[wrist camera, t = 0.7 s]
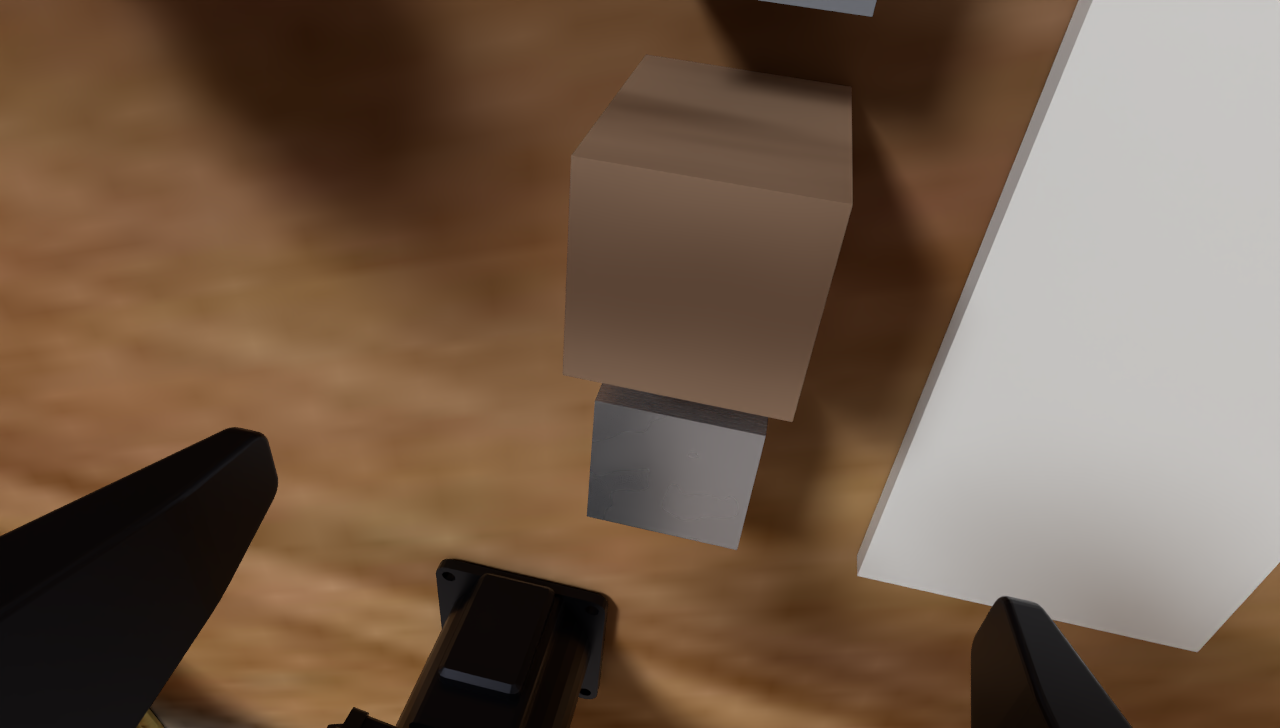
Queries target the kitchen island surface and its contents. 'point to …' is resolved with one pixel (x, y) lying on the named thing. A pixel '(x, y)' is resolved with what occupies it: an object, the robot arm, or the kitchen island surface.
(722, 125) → the walnut block
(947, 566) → the cream tile
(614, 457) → the grey metal block
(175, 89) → the kitchen island surface
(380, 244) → the kitchen island surface
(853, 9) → the charcoal block
